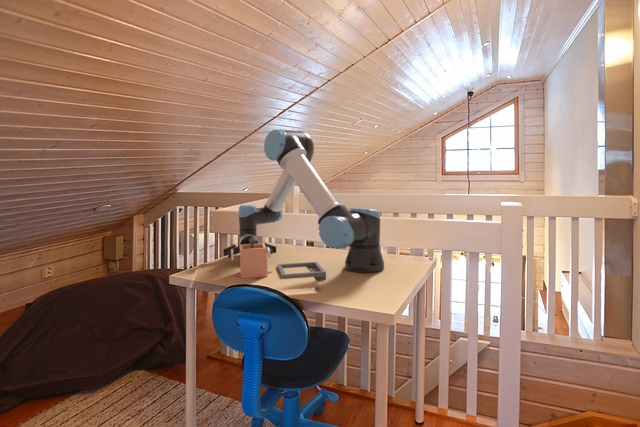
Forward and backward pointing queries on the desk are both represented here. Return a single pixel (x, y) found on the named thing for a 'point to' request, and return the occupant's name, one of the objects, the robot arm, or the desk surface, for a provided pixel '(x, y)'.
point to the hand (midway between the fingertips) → (251, 255)
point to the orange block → (253, 261)
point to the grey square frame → (312, 267)
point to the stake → (252, 245)
